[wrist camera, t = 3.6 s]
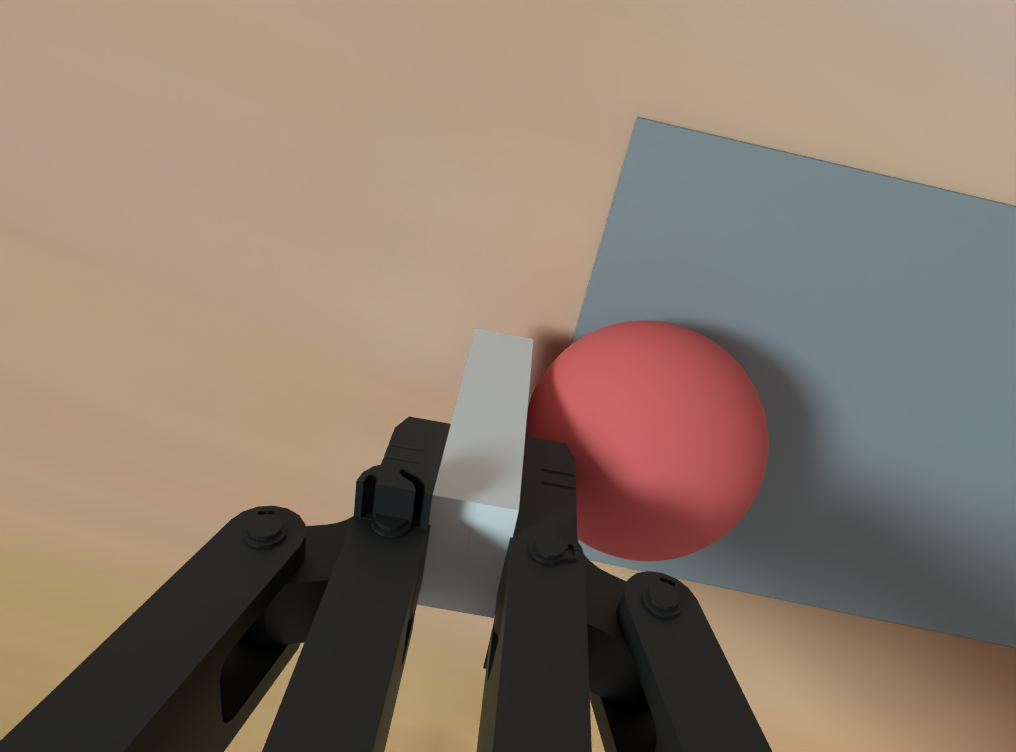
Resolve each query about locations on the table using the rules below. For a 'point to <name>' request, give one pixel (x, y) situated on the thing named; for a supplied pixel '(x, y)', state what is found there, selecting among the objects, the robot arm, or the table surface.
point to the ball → (653, 437)
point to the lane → (838, 370)
